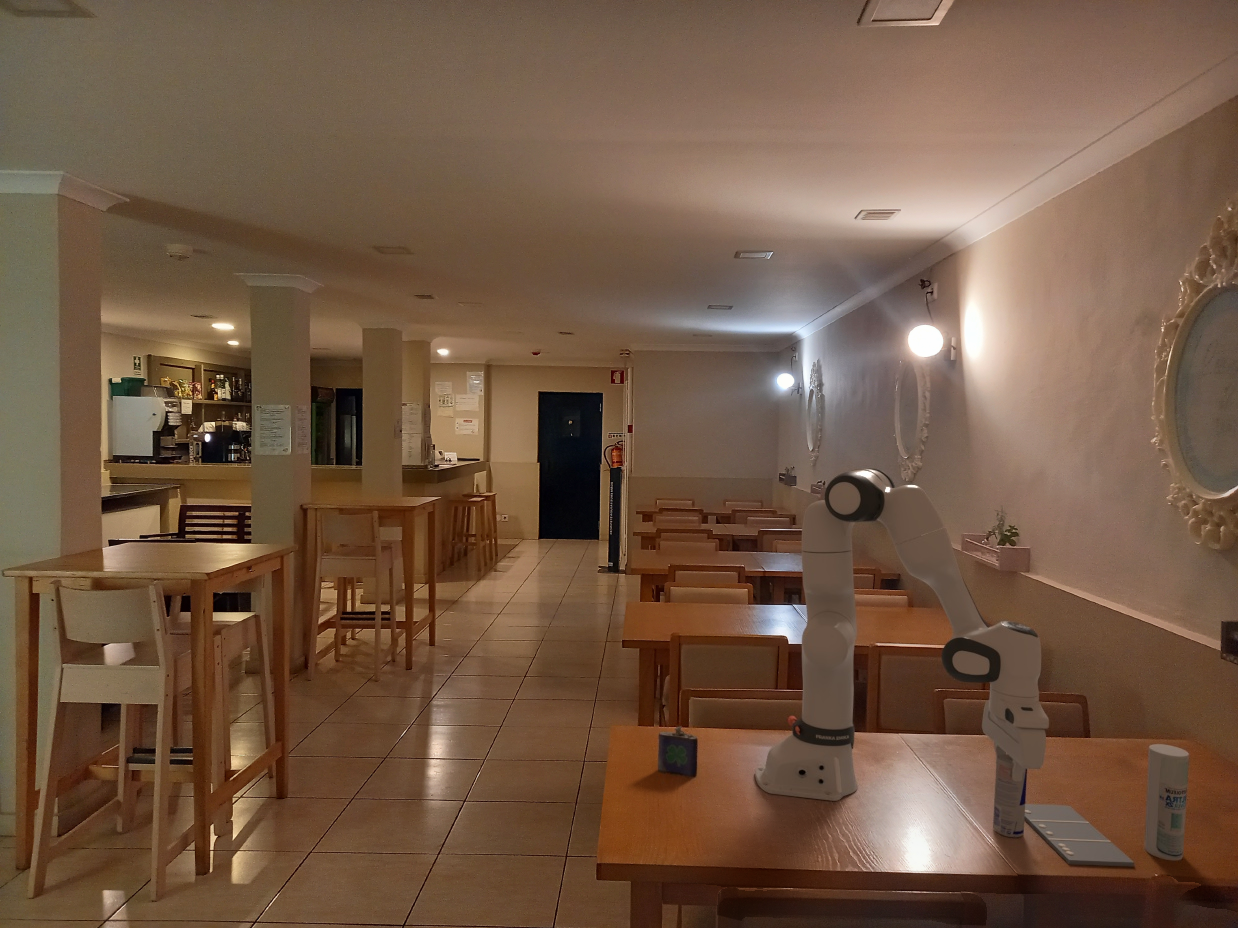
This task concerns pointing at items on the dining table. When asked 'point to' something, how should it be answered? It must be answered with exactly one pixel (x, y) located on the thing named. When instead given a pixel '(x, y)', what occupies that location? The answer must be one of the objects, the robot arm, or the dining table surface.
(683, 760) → the flask
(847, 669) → the robot arm
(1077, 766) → the dining table surface
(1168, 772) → the spray can
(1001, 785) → the beverage can
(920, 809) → the dining table surface
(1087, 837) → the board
